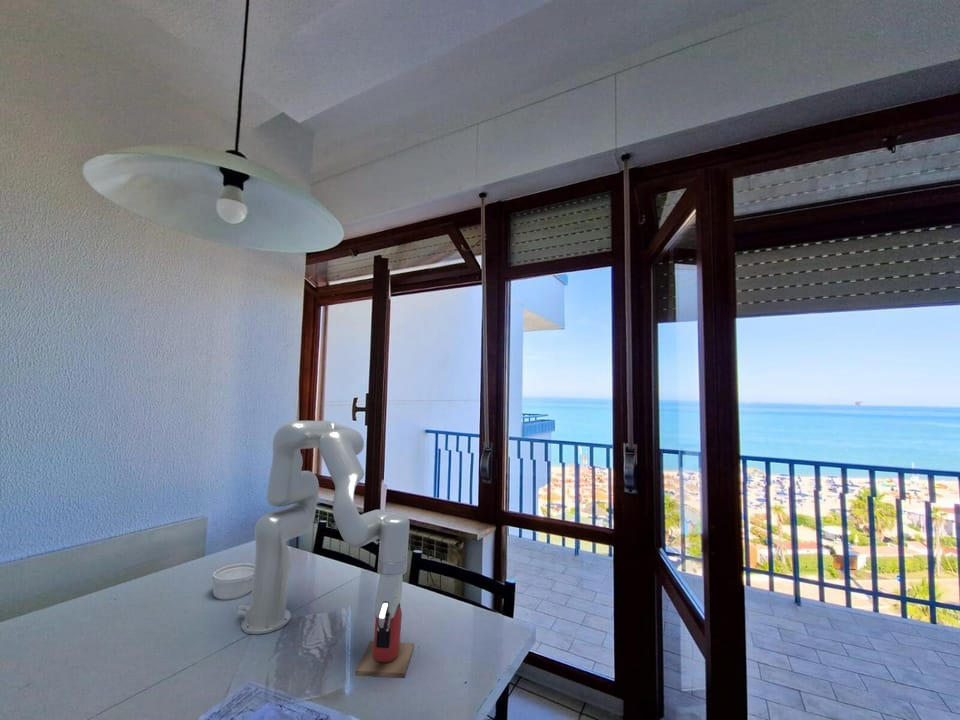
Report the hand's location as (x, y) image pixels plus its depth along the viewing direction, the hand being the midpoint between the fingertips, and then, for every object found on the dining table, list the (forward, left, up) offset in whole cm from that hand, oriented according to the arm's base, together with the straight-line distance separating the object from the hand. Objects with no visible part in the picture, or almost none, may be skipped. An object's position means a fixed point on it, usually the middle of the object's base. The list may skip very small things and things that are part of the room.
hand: (387, 635), depth 98 cm
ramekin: (-60, +31, -6) cm, 68 cm away
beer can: (0, 0, -5) cm, 5 cm away
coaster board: (0, 0, -6) cm, 6 cm away
